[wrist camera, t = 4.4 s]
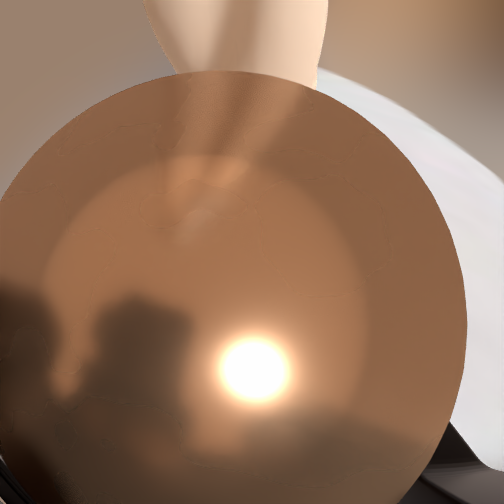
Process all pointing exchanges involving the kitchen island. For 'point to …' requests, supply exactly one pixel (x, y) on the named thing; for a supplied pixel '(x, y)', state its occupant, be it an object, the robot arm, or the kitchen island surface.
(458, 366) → the brown tapered cup
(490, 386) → the kitchen island surface
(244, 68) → the water bottle
